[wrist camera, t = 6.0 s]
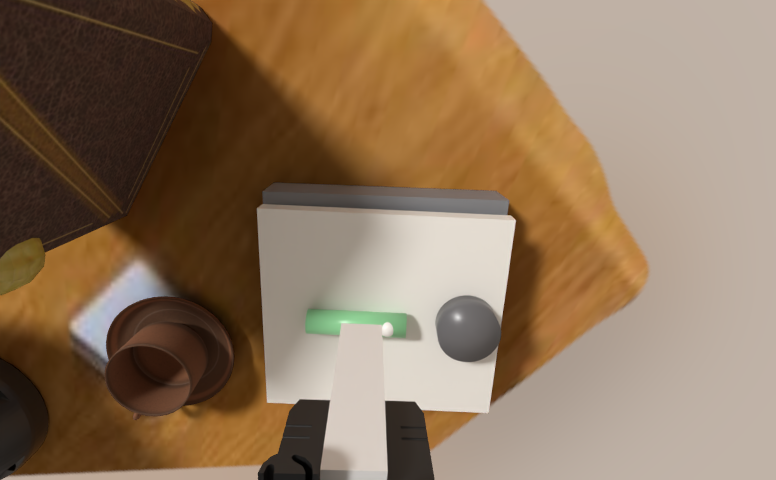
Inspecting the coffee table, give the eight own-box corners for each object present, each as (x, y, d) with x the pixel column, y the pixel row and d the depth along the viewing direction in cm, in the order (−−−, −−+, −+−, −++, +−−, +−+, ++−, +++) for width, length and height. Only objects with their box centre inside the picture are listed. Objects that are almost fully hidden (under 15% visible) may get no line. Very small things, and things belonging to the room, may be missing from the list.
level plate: (271, 391, 40) (259, 419, 36) (262, 203, 34) (247, 215, 31) (485, 401, 40) (494, 431, 36) (510, 215, 34) (524, 228, 31)
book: (132, -39, 32) (-549, -433, 9) (233, 29, 34) (-102, -143, 10) (33, 199, 38) (-552, 365, 14) (125, 248, 39) (-261, 472, 16)
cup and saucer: (236, 399, 45) (215, 444, 39) (119, 386, 44) (80, 430, 38) (242, 297, 41) (220, 330, 35) (115, 281, 40) (71, 311, 35)
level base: (281, 374, 44) (272, 399, 40) (273, 182, 38) (262, 191, 34) (472, 378, 45) (482, 403, 41) (496, 190, 38) (509, 200, 35)
